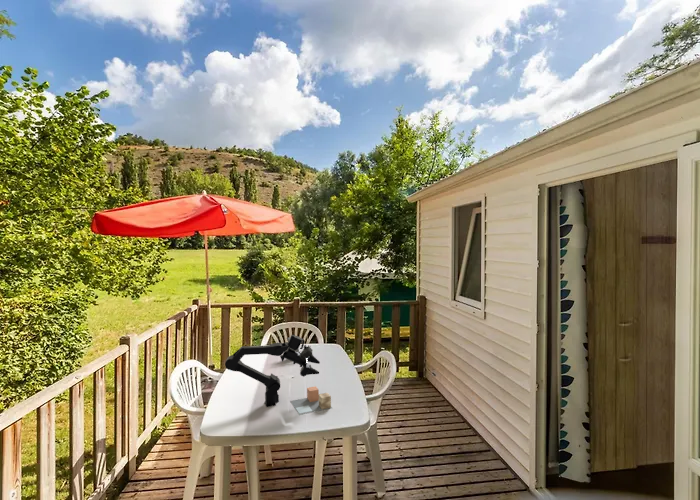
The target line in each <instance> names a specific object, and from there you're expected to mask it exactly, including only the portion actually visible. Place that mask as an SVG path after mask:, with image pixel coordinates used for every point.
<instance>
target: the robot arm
mask: <svg viewBox="0 0 700 500" xmlns="http://www.w3.org/2000/svg"><path fill="white" fill-rule="evenodd" d="M289 337H290V339H289V341H288V340H287V341H288V342H287V341H286V342H276V343H271V344H269V345H252V346H251V345H249V346H247V345H246V346H244V345H243V346H242V345H241V346H240V348H239V349H237V350H236V351H235V352H234V353H233V354H231V355H229V356H228V357H227V358H226V360H225V363H224V366H225V369H227V370H228V371H232V372H238V373H241V374H244V375H246V376H248V377H250V378H251V379H253V380H256V381H257V382H260V383H261V384H263V385H264V386H265V392H264V405H265V407H266V408H269V407H274V406H277V405H276V404H277V403H279V402H280V401H279V400H280V398H279V397H280V395H279V394H278V392H279V390H280V388H281V381H280V378H279V377H278V375H275V374H273V373H270V375H267V374H264V373H263V372H261V371H259V370H257V369H255V368H254V367H251V366H249V365H247V364H245V363H244V362H243V361H242V360H241V359H242V358H243V357H244V356H249V355H251V356H252V355H269V356H275V357H279V358H280V359H281V362H284V361H285V359H286V360H287V361H290V362H292V364H293V365H296V364H297V365H299V368H300V369H299V370H300V372H299V374H300V376H301V377H303V378H304V377H305V376H308V375H319V373H320V371H318V370H317V369H315V368H313V367H312V365H311V364H309V363H313V364H319V365H320V363H321V362H320V361H319V359H318V358H317V357H315V356H314V354H313V349H312V347H311V345H309V344H304V346H303V349H302V350H299V351H298V352H296V351H294V350H297V349H298V348H299V349H300V347H301V345H302V342H303V339H304V338H303V337H300V336H298V335H295V334H291V335H290V336H289ZM302 338H303V339H302ZM290 348H291V349H290ZM292 349H293V350H292Z"/></svg>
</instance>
